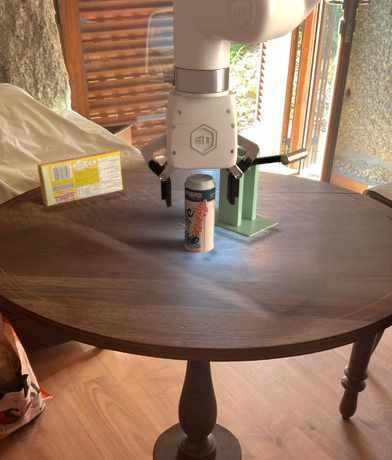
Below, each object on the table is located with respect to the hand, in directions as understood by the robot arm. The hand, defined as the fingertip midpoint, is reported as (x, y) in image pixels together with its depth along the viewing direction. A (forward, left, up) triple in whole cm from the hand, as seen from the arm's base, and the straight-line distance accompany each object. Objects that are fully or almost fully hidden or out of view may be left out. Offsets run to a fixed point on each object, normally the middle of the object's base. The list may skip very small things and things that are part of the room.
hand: (199, 202), depth 87 cm
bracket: (-8, -10, -8) cm, 15 cm away
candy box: (+19, -25, -8) cm, 33 cm away
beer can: (0, 0, -8) cm, 8 cm away
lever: (-11, -6, +3) cm, 13 cm away
